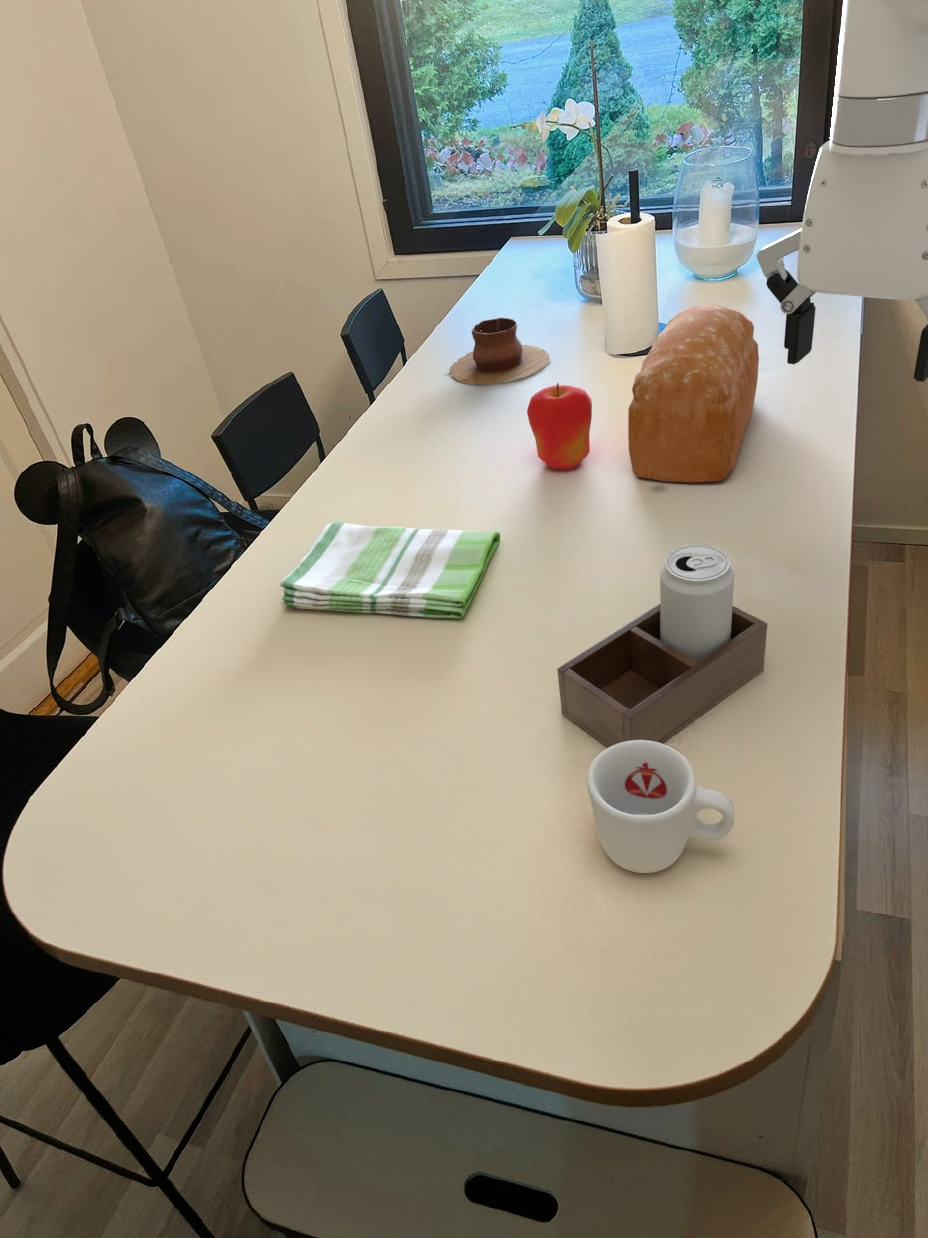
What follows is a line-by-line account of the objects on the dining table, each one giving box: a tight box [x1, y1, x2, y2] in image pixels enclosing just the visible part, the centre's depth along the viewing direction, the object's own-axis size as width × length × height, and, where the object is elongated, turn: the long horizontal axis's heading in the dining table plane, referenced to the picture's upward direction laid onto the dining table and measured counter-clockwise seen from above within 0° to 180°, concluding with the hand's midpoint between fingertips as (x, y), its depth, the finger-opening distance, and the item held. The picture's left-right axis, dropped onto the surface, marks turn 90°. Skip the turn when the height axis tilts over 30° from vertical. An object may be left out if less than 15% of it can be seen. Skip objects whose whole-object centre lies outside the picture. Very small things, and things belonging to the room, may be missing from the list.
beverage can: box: [659, 544, 735, 663], centre depth 80 cm, size 6×6×12 cm
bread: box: [627, 304, 760, 483], centre depth 117 cm, size 14×26×16 cm, turn 158°
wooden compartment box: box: [556, 603, 768, 749], centre depth 81 cm, size 9×18×6 cm, turn 127°
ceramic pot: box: [448, 317, 551, 386], centre depth 152 cm, size 18×18×7 cm
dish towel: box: [279, 521, 501, 619], centre depth 105 cm, size 17×23×4 cm
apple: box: [526, 382, 593, 471], centre depth 118 cm, size 9×8×12 cm
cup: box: [586, 740, 735, 874], centre depth 67 cm, size 11×8×8 cm
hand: (859, 365), depth 68 cm, fingers open, 9 cm apart
